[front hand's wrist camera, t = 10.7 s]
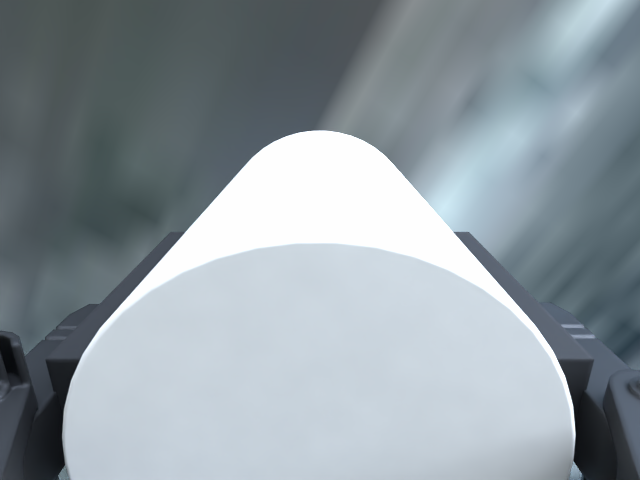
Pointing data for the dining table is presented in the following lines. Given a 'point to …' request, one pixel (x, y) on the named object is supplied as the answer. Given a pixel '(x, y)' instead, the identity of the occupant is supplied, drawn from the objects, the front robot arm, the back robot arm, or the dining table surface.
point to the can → (318, 343)
